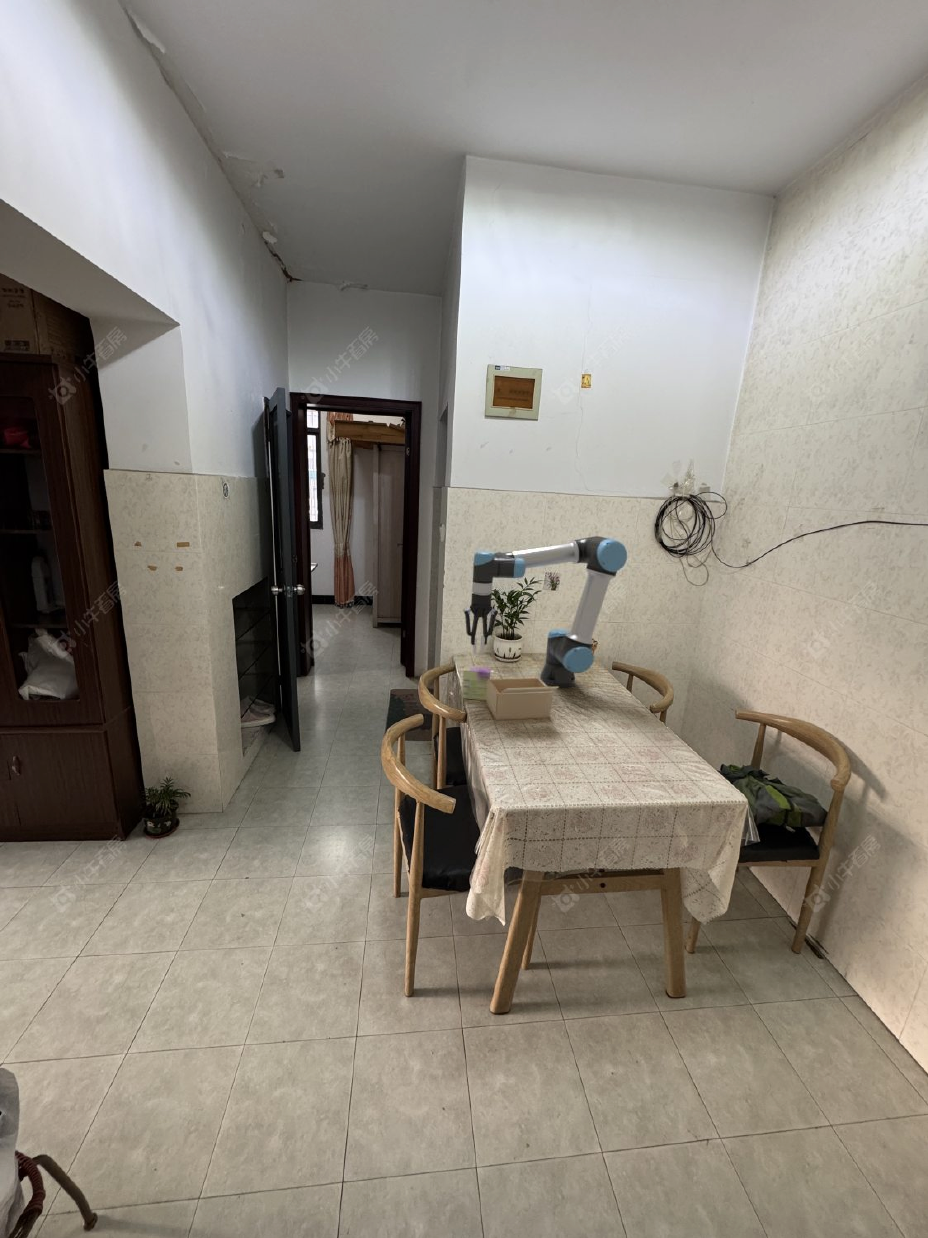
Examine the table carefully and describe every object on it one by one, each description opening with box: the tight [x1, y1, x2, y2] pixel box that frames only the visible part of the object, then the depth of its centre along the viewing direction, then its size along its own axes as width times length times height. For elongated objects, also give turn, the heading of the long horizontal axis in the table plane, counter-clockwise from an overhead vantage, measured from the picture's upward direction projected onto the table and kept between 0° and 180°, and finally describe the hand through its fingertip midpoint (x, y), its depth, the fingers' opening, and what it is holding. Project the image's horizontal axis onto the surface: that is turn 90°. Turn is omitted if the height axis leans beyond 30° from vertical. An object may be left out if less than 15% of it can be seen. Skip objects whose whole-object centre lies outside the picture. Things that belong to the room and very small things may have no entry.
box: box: [461, 665, 491, 702], centre depth 197 cm, size 10×6×12 cm, turn 84°
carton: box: [486, 677, 553, 721], centre depth 187 cm, size 21×14×10 cm
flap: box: [501, 686, 560, 694], centre depth 174 cm, size 19×8×1 cm
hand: (478, 652), depth 193 cm, fingers open, 2 cm apart
